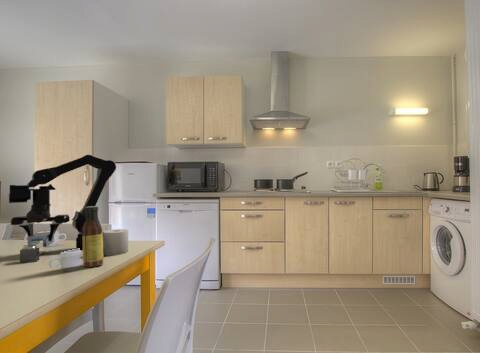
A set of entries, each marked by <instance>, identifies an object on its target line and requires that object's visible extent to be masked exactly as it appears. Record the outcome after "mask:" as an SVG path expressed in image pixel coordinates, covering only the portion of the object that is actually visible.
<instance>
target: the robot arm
mask: <svg viewBox="0 0 480 353" xmlns="http://www.w3.org/2000/svg"><path fill="white" fill-rule="evenodd" d="M87 165H88V166H90V167H92V168H94V169H97V170H96V178H95V180H94V183H93V185H92V188H91V189H90V191H89V194H88V196H87V198H86V200H85V202H84V205H83V206H82V208H81V209H80V211H78V210H76V211H75V212H74V216H73V218H72V219H71V221H72V224H71V225H72V227H73V228H74V229H75V230H77V232H78V234H77V237H76V239H75V246H76V247H75V248H76V249H77V248H80V249H81V251H83V241H82V236H83V231H82V228H83V225H84V224H85V221H86V212H85V207H90V206H96V205H97V204H98V201H99V199H100V197H101V194H102V192H103V190H104V188H105V186H106V183H107V182H108V180H109V179H110V178H111V177H112V176H113V174H114V173H115V171H116V170H117V164H116V163H115V161H113V160H110V159H109V160H106V159H102V158H100V157H98V156H97V157H96V156H94V155H91V154H85V155H83V156H81V157H80V158H79V157H78V158H76V159H73V160H71V161H68V162H64V163H63V164H60V165H57V166H54V167H49V168H44V169H38V170H36V171H34V172H33V173H32V176H31V180H29V182H27V184H24V185H22V184H21V185H15V184H10V185H9V189H8V190H9V193H8V204H19V203H28V201H31V199H32V204H31V207H30V209H29V211H28V212H27V213H26V215H19V216H17V215H16V216H13V217H12V218H11V219H10V225H11V226H17V225H18V227H20V228H22V229H24V231H25V232H26V234H27V237H28V236H30V235H33V234H34V223H36V224H39V223H47V222H51V223H50V224H49V227H50V229H49V230H50V231H49V232H50V241H52V239H53V237H54V238H55V234H56V233H57V232H56V231H57V230H58V228H59V227H60V225H62V224H65V223H68V222H70V215H69V214H57V215H54V216H52V215H51V204H52V203H50V202H51V201H50V200H51V198H50V197H51V196H50V193H51V192H50V191H55V190H56V188H55V186H53V185H52V184H51V183H50V182H51V181H53V180H55V179H56V178H58V177H60V176H61V175H64V174H66V173H69V172H72V171H74V170H76V169H80V168H83V167H85V166H87ZM46 184H48V185H46ZM44 185H45V186H44ZM37 186H39V187H38V188H36V187H37Z"/></svg>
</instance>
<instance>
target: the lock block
mask: <svg viewBox="0 0 480 353" xmlns="http://www.w3.org/2000/svg"><path fill="white" fill-rule="evenodd" d="M41 241H42V247H43V248H46V247H49V246H50V245H51V244H53V243H54V242H55V236H54V237H53V239H52V241H50V231H49V232H48V231H47V232H45V231H44V232H43V231H42V232H35V233H33V235H30V236H28V235H27V246H32V245H35V246H37V245H39V244H40V243H41Z"/></svg>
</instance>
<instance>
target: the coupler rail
mask: <svg viewBox="0 0 480 353" xmlns="http://www.w3.org/2000/svg"><path fill="white" fill-rule="evenodd" d="M19 250H20V251H19V263H22V264H23V263H35V262H36V263H37V262H38V261H39V260H40V257H41V256H43V255H45V253H46V251H44V250H42V251H41V250H40V247H37V245H32V246H28V245H25V246H23V247H22V249H19Z"/></svg>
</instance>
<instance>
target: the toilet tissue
mask: <svg viewBox="0 0 480 353" xmlns="http://www.w3.org/2000/svg"><path fill="white" fill-rule="evenodd" d="M102 231H103V256H120V255H124V254H127V253H129V230H128V229H124V228H117V229H108V230H106V229H105V230H102Z"/></svg>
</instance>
